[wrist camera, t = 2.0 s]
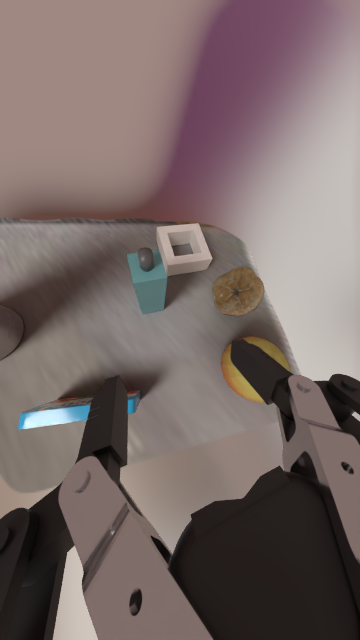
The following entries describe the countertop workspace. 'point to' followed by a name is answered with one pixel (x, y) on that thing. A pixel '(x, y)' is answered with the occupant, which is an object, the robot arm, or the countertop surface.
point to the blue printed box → (67, 411)
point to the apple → (236, 378)
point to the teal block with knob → (148, 279)
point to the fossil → (238, 291)
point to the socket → (181, 236)
